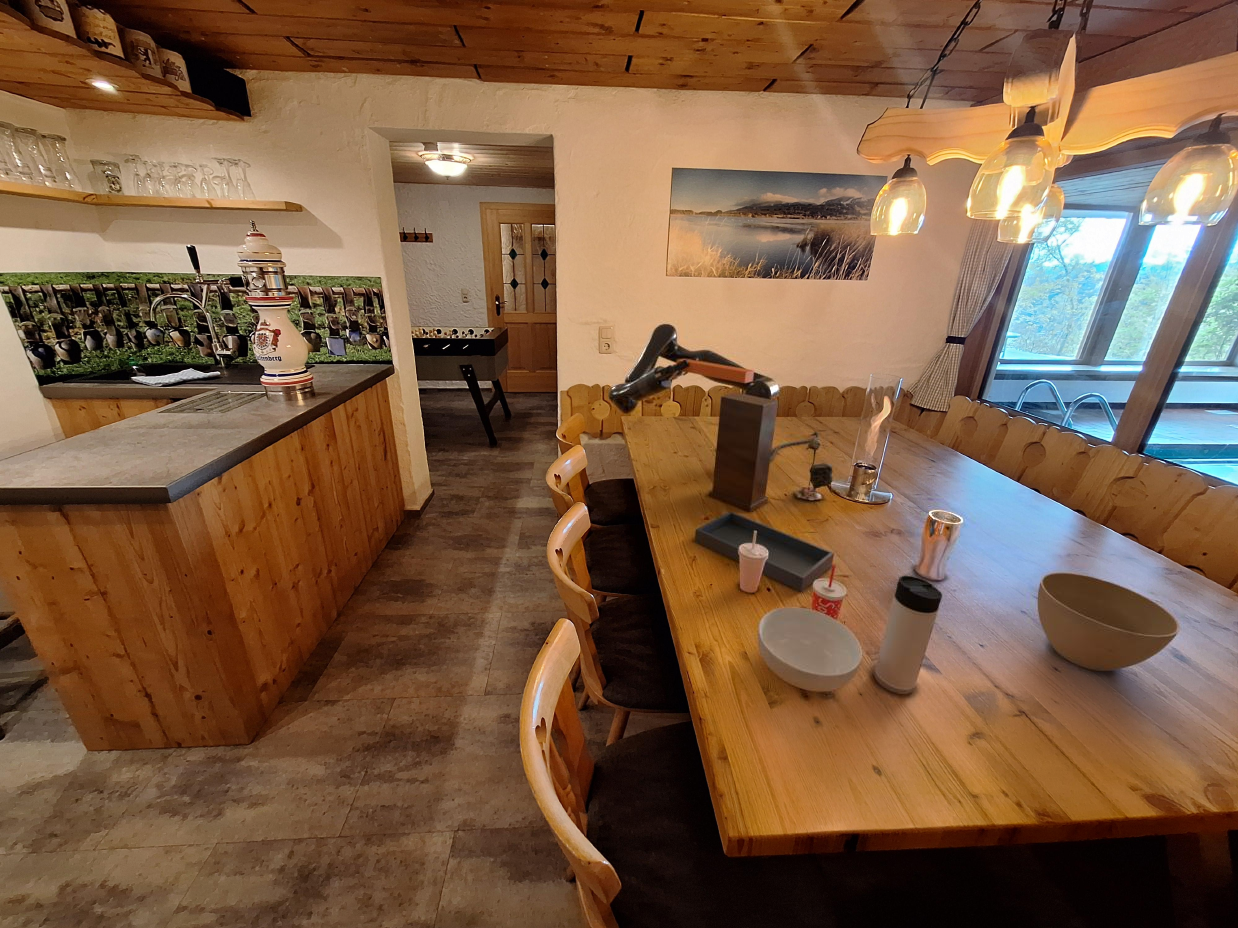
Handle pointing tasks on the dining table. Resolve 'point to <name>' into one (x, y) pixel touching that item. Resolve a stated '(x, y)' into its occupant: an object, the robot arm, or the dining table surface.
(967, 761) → the dining table surface
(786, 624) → the cereal bowl
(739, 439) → the stand
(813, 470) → the plant with pod
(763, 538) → the tray
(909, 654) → the travel mug
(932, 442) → the dining table surface
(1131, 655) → the brown slanted bowl
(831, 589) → the beverage cup
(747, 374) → the orange bar
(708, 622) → the dining table surface
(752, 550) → the smoothie
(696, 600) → the dining table surface
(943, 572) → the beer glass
